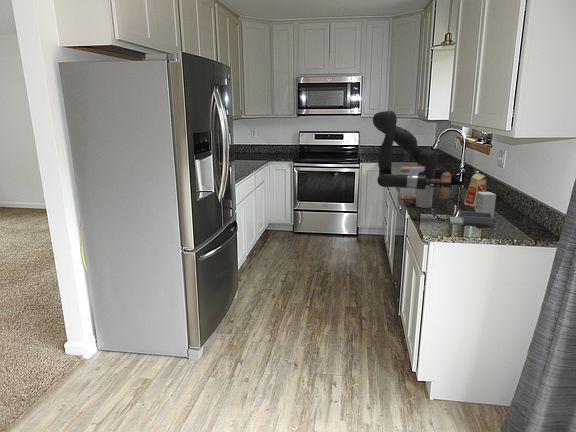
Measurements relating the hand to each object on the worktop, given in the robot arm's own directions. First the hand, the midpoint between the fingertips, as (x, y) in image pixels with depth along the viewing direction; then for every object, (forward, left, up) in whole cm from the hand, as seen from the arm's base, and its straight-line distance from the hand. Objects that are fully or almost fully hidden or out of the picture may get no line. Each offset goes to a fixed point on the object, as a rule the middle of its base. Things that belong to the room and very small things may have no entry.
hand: (450, 183), depth 211 cm
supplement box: (-19, +19, -20) cm, 34 cm away
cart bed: (0, +11, -20) cm, 23 cm away
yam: (0, -3, -7) cm, 8 cm away
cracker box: (-51, -21, -20) cm, 58 cm away
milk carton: (-46, +17, -20) cm, 53 cm away
